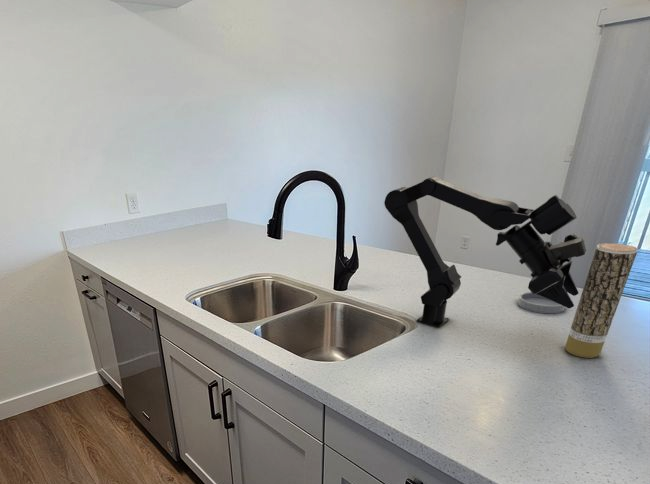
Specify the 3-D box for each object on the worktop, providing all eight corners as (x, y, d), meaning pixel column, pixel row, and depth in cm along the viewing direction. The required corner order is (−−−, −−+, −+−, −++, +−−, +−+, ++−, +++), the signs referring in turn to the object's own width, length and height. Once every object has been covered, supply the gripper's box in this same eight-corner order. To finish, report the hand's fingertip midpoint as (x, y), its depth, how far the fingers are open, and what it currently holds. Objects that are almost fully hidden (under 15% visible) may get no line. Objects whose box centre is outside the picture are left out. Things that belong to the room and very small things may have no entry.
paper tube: (605, 359, 99) (645, 251, 87) (571, 358, 100) (607, 251, 89) (590, 346, 105) (626, 243, 93) (559, 345, 106) (590, 243, 95)
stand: (557, 316, 120) (559, 309, 119) (511, 306, 128) (513, 299, 127) (569, 304, 127) (571, 297, 126) (525, 296, 135) (527, 289, 134)
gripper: (560, 233, 89) (611, 293, 87) (571, 217, 101) (616, 269, 100) (508, 265, 97) (554, 321, 95) (524, 246, 109) (565, 295, 108)
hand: (574, 300), depth 99 cm, fingers open, 9 cm apart
